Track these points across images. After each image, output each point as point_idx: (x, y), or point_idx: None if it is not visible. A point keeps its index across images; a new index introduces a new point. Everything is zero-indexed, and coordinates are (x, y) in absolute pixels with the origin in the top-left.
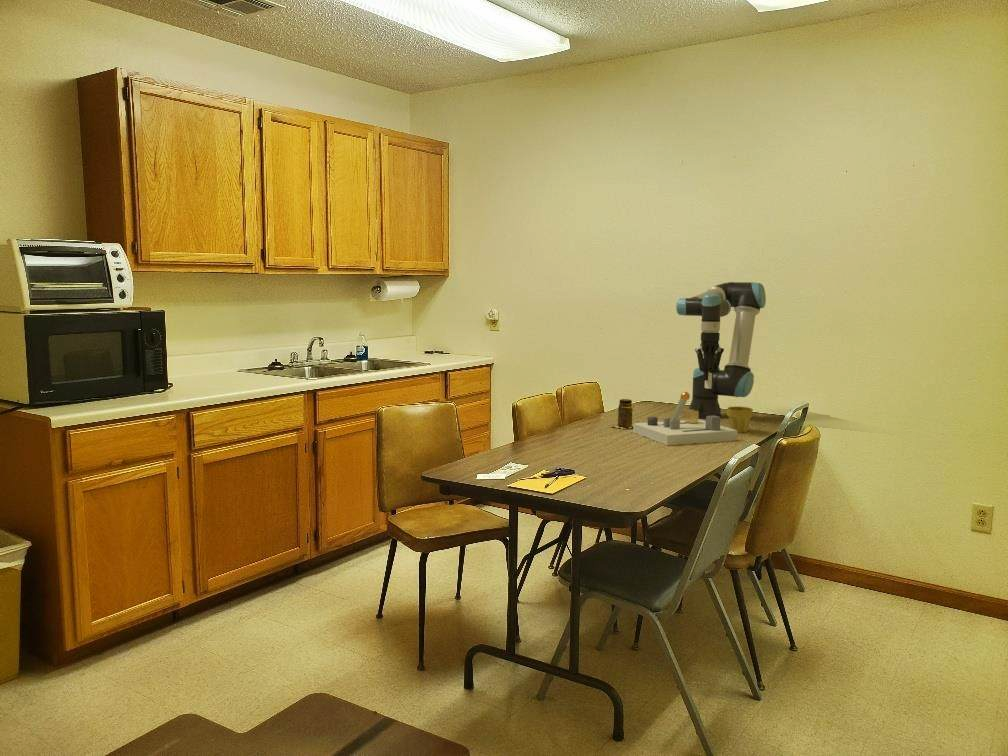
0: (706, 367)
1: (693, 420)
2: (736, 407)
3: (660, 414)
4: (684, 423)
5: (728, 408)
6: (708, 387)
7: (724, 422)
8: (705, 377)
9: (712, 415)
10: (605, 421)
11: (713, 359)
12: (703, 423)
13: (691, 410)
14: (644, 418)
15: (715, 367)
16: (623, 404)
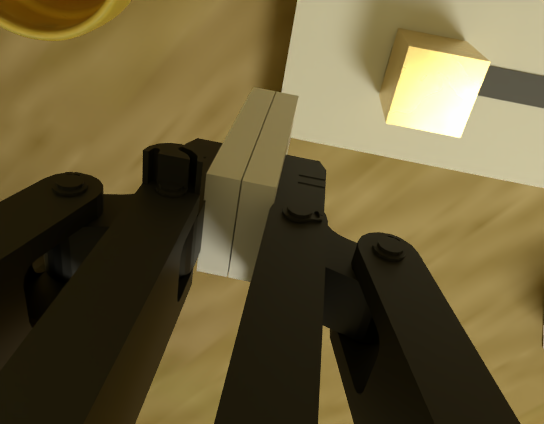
0: (322, 279)
1: (441, 39)
2: (5, 16)
3: (203, 403)
4: (491, 65)
5: (96, 11)
6: (295, 100)
7: (39, 166)
8: (324, 185)
9: (41, 260)
10: (527, 419)
11: (42, 395)
12: (369, 2)
13: (439, 94)
14: (327, 387)
15: (71, 231)
16: None
